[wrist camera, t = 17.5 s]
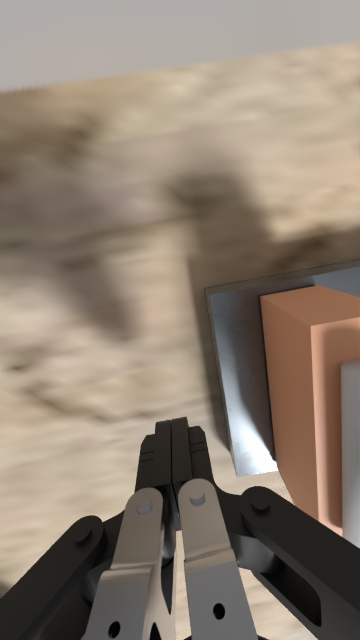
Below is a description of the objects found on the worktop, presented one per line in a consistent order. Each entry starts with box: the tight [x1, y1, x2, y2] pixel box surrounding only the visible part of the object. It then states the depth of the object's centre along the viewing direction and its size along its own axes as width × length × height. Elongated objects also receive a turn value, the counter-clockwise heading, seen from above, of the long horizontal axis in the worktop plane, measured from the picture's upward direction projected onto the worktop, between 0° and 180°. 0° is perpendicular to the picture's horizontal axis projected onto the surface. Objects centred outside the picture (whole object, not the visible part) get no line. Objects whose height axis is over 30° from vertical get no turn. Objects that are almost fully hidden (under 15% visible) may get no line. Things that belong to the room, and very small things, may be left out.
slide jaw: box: [260, 285, 360, 548], centre depth 12 cm, size 11×3×6 cm, turn 10°
